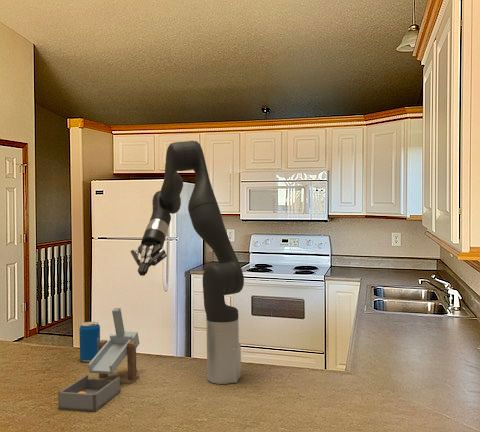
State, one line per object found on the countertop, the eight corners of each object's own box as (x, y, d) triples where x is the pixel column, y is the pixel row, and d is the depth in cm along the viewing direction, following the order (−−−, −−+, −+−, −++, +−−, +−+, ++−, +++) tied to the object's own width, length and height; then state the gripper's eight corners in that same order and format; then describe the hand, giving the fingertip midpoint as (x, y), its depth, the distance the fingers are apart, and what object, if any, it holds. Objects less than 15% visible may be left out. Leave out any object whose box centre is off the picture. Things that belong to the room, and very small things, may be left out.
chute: (140, 343, 145) (133, 301, 141) (114, 381, 128) (105, 334, 124) (120, 342, 147) (112, 301, 143) (91, 379, 130) (81, 333, 126)
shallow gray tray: (120, 391, 128) (119, 377, 128) (95, 411, 116) (94, 395, 116) (86, 389, 131) (86, 374, 130) (58, 408, 118) (58, 392, 118)
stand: (140, 378, 139) (139, 340, 139) (132, 384, 134) (131, 345, 134) (103, 375, 142) (103, 338, 141) (95, 381, 137) (94, 343, 137)
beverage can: (94, 363, 154) (93, 326, 153) (76, 362, 155) (75, 325, 155) (104, 357, 160) (103, 321, 160) (86, 356, 161) (85, 321, 161)
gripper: (134, 227, 166) (118, 266, 154) (170, 227, 163) (157, 267, 151) (140, 242, 171) (126, 281, 159) (175, 241, 168) (163, 281, 156)
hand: (141, 274), depth 155 cm, fingers closed
